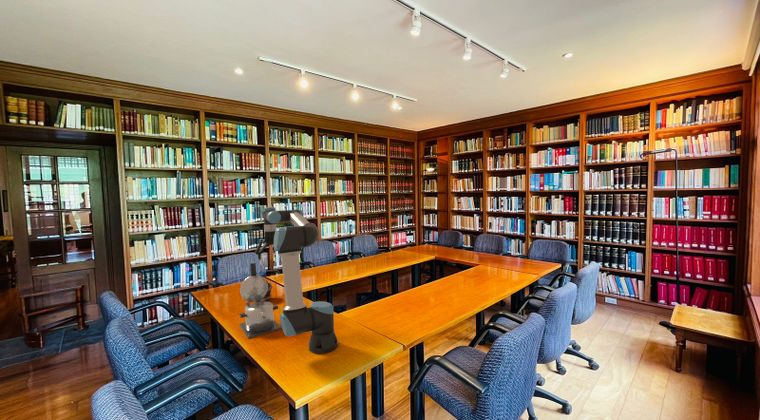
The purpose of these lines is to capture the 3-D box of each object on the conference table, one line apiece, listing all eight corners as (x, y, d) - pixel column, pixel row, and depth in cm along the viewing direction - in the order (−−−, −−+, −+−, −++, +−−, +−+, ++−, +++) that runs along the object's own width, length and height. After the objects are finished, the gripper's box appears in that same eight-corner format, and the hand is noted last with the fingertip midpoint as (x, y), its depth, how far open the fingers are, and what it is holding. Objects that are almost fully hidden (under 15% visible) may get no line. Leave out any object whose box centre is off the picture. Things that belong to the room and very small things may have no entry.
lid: (266, 261, 198) (265, 260, 201) (238, 265, 189) (237, 264, 191) (268, 298, 199) (267, 297, 202) (241, 304, 189) (240, 303, 192)
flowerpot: (276, 296, 243) (274, 271, 242) (267, 303, 228) (265, 277, 227) (258, 296, 245) (257, 271, 244) (248, 303, 230) (247, 277, 228)
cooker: (284, 328, 186) (283, 305, 185) (245, 339, 173) (244, 315, 172) (272, 316, 204) (271, 296, 203) (236, 326, 191) (235, 304, 190)
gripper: (287, 228, 212) (288, 258, 213) (248, 232, 197) (250, 264, 198) (291, 229, 206) (292, 260, 207) (252, 233, 191) (253, 267, 192)
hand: (271, 262), depth 203 cm, fingers open, 13 cm apart
